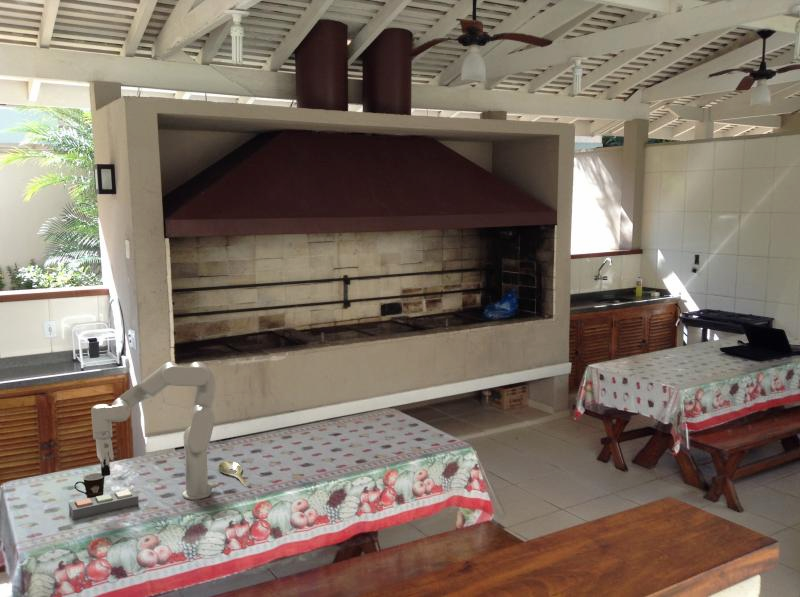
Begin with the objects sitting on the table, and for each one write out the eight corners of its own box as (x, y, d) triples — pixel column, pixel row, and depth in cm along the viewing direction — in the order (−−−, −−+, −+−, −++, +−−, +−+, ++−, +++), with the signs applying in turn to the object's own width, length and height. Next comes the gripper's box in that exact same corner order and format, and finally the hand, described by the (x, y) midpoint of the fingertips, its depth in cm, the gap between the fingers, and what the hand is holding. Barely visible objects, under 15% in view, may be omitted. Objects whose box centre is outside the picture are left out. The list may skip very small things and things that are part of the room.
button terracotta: (89, 506, 303) (89, 497, 303) (92, 511, 299) (91, 502, 298) (75, 509, 300) (75, 500, 300) (78, 514, 296) (77, 505, 295)
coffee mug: (108, 494, 320) (107, 472, 319) (101, 502, 311) (100, 480, 310) (82, 494, 320) (81, 473, 318) (74, 502, 311) (73, 480, 310)
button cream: (128, 498, 312) (128, 489, 312) (131, 502, 308) (131, 493, 307) (115, 501, 309) (115, 492, 308) (118, 505, 305) (118, 496, 304)
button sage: (109, 502, 308) (109, 493, 307) (112, 507, 303) (111, 498, 303) (96, 505, 304) (95, 496, 304) (98, 509, 300) (98, 500, 300)
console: (133, 498, 315) (132, 489, 314) (138, 506, 308) (138, 496, 307) (69, 512, 300) (68, 502, 300) (73, 520, 293) (72, 510, 292)
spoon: (260, 489, 331) (260, 485, 330) (238, 494, 325) (238, 490, 325) (234, 462, 360) (234, 458, 359) (213, 466, 354) (213, 462, 354)
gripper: (116, 436, 297) (119, 478, 300) (107, 427, 310) (110, 468, 312) (97, 440, 293) (100, 482, 296) (89, 431, 305) (92, 472, 308)
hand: (105, 475), depth 304 cm, fingers closed
